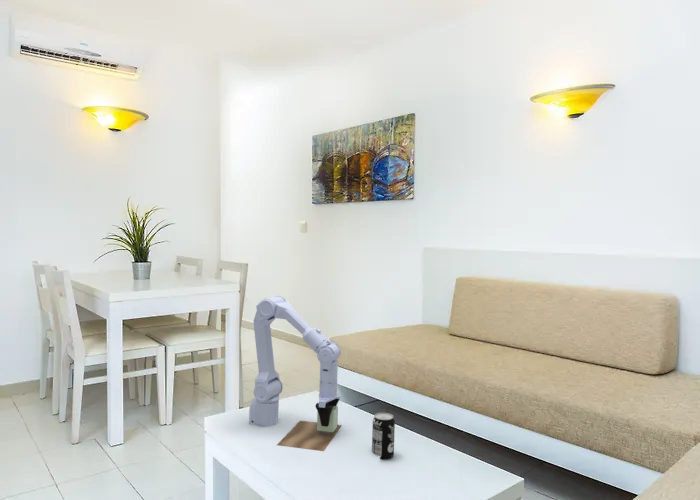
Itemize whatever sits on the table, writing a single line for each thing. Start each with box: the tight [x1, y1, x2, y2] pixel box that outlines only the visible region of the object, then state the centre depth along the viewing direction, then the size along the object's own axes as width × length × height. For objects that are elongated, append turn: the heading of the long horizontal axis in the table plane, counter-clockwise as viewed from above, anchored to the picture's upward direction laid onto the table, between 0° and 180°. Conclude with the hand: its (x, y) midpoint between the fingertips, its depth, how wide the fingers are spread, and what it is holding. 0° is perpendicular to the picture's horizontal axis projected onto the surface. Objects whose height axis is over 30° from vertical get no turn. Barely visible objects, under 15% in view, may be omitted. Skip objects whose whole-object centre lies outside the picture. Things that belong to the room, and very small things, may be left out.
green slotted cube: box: [316, 406, 339, 432], centre depth 168 cm, size 5×5×7 cm
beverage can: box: [371, 412, 396, 460], centre depth 155 cm, size 7×7×12 cm
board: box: [276, 420, 343, 452], centre depth 166 cm, size 15×22×1 cm
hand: (327, 422), depth 168 cm, fingers closed on green slotted cube, 5 cm apart
